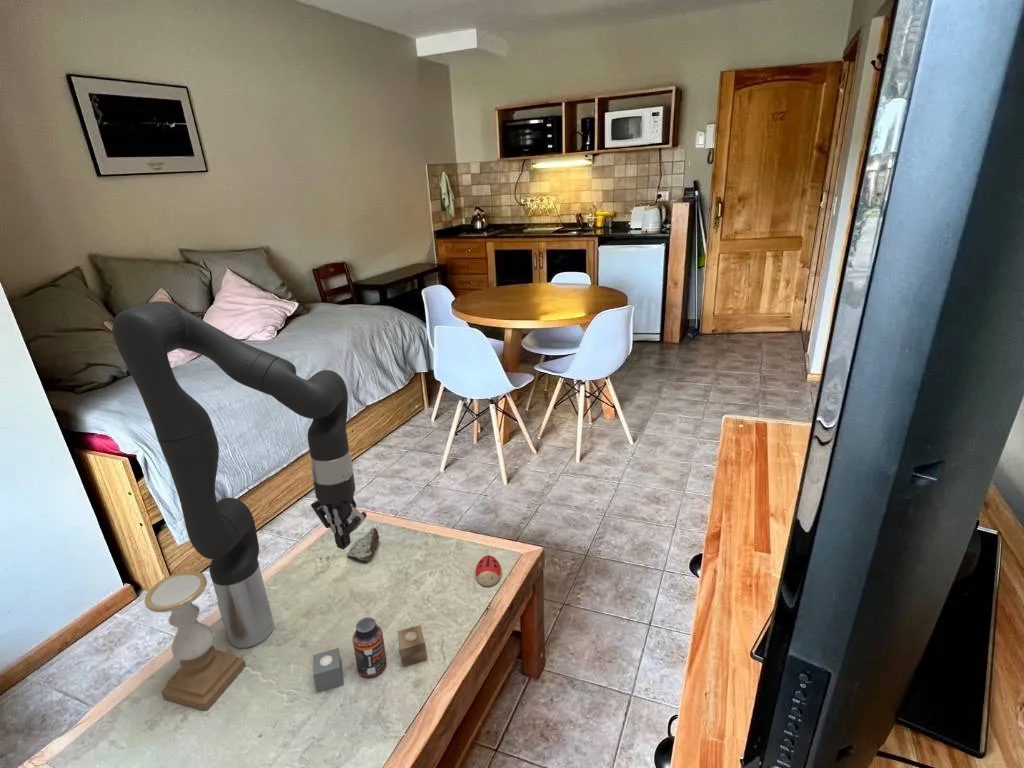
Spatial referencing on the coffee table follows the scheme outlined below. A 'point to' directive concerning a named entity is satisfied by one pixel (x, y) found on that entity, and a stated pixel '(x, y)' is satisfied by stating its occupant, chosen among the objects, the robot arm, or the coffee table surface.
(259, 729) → the coffee table surface
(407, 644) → the walnut dotted block
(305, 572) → the coffee table surface
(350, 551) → the rock sample
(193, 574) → the candle holder
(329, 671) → the charcoal dotted block
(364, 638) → the supplement bottle
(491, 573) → the ladybug figurine
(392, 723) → the coffee table surface
